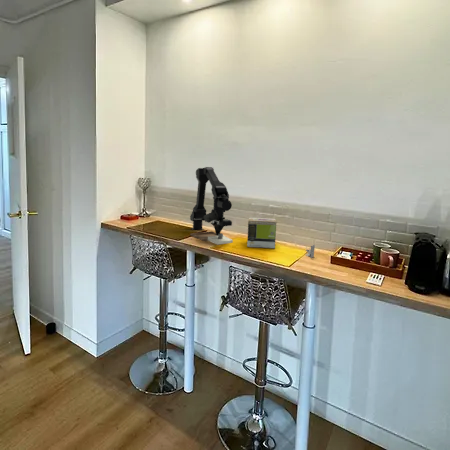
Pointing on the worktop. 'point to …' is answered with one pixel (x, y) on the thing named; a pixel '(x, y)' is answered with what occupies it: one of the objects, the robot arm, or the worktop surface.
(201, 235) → the brown flat slab
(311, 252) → the architectural model
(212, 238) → the cover plate
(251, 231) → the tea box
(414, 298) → the worktop surface
